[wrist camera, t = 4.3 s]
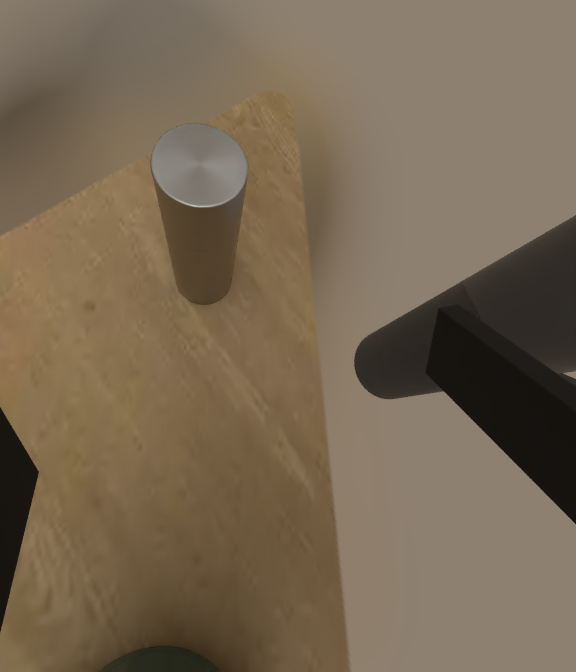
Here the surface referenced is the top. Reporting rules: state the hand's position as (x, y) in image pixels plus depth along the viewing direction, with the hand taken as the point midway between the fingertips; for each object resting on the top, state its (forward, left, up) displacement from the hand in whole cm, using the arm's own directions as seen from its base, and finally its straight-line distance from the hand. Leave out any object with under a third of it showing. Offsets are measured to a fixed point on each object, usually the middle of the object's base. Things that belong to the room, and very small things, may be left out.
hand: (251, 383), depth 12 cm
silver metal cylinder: (-2, -8, -13) cm, 16 cm away
